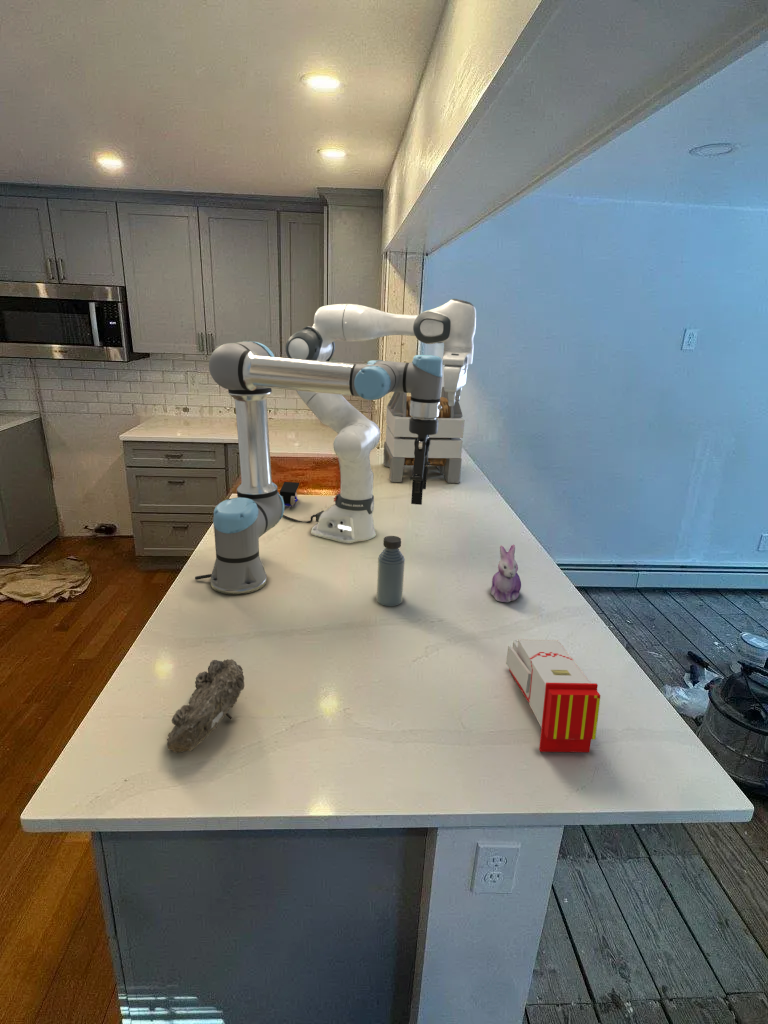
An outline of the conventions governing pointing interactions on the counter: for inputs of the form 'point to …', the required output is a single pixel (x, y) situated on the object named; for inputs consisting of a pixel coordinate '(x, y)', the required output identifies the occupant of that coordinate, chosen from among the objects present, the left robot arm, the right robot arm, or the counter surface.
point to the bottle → (390, 577)
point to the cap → (392, 542)
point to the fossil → (206, 705)
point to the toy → (556, 694)
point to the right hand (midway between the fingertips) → (454, 403)
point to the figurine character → (289, 493)
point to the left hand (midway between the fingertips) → (418, 496)
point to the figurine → (506, 577)
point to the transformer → (442, 444)
